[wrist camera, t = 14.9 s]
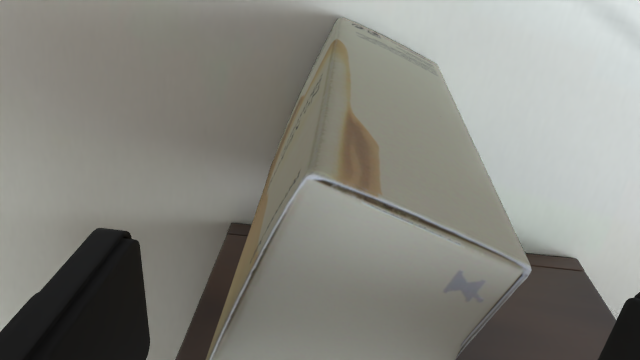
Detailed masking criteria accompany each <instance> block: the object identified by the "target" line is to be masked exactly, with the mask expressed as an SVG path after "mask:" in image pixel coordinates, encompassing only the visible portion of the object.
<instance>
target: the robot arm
mask: <svg viewBox="0 0 640 360" xmlns="http://www.w3.org/2000/svg"><path fill="white" fill-rule="evenodd" d="M149 346H150V337H149V327H148V318H147V308H146V299H145V290H144V280H143V271H142V262H141V252H140V245H139V242H138V241H137V240H134V239H132V238H131V235H130V233H129V232H127V231H122V230H113V229H104V228H97V229H96V230H94V231H93V232H92V233H91V234H90V236H89V237H88V238H87V239H86V240H85V241H84V242H83V243H82V245H81V246H80V247H79V248H78V249H77V250H76V251H75V253H74V254H73V255H72V256H71V257H70V258H69V259H68V260H67V262H66V263H65V264H64V265H63V266H62V267H61V268H60V270H59V271H58V272H57V273H56V274H55V275H54V276H53V277H52V279H51V280H50V281H49V282H48V283H47V284H46V285H45V286H44V288H43V289H42V290H41V291H40V292H38V293H36V294H35V295H34V296H33V297H32V298H30V299H29V301H28V302H27V303H26V304H25V305H24V306H23V307H22V308H21V309H20V311H19V312H18V313H17V314H16V315H15V316H14V317H13V318H12V320H11V321H10V322H9V323H8V324H7V325H6V326H5V327H4V329H3V330H2V331H1V332H0V360H146V358H147V355H148V352H149ZM598 360H640V292H639V293H638V294H637V295H636V296H635V297H634V298H629V299H628V300H627V301H626V302H625V304H624V306H623V308H622V310H621V312H620V314H619V316H618V318H617V321H616V323H615V325H614V327H613V329H612V331H611V333H610V335H609V337H608V339H607V341H606V344H605V346H604V348H603V350H602V352H601V354H600V356H599V358H598Z"/></svg>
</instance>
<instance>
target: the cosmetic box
mask: <svg viewBox="0 0 640 360" xmlns="http://www.w3.org/2000/svg"><path fill="white" fill-rule="evenodd" d="M531 271H532V269H531V266H530V263H529V261H528V259H527V256H526V254H525V252H524V250H523V248H522V246H521V244H520V242H519V239H518V237H517V235H516V233H515V231H514V229H513V227H512V225H511V222H510V220H509V218H508V216H507V214H506V212H505V210H504V207H503V205H502V203H501V201H500V199H499V197H498V195H497V192H496V190H495V188H494V186H493V184H492V182H491V179H490V177H489V175H488V173H487V171H486V169H485V167H484V164H483V162H482V160H481V158H480V156H479V153H478V151H477V149H476V147H475V145H474V143H473V141H472V139H471V137H470V135H469V133H468V130H467V128H466V126H465V124H464V121H463V119H462V117H461V115H460V113H459V110H458V109H457V106H456V104H455V102H454V100H453V98H452V96H451V93H450V91H449V89H448V87H447V85H446V83H445V80H444V78H443V76H442V74H441V72H440V70H439V67H438V66H437V64H436V63H434V62H432V61H430V60H429V59H427V58H425V57H423V56H421V55H419V54H418V53H416V52H414V51H412V50H410V49H408V48H406V47H404V46H402V45H400V44H399V43H397V42H395V41H393V40H391V39H389V38H387V37H385V36H383V35H381V34H379V33H377V32H375V31H373V30H370V29H368V28H366V27H364V26H362V25H359V24H357V23H355V22H353V21H350V20H348V19H346V18H343V17H340V18H338V19H337V21H336V22H335V24H334V26H333V28H332V30H331V32H330V34H329V36H328V38H327V40H326V42H325V44H324V45H323V47H322V49H321V51H320V53H319V55H318V57H317V59H316V61H315V63H314V66H313V68H312V70H311V72H310V74H309V76H308V78H307V80H306V82H305V84H304V87H303V89H302V91H301V93H300V95H299V98H298V100H297V102H296V105H295V107H294V109H293V112H292V114H291V116H290V119H289V121H288V124H287V126H286V128H285V131H284V133H283V136H282V138H281V140H280V143H279V145H278V148H277V151H276V154H275V157H274V160H273V162H272V165H271V168H270V171H269V174H268V177H267V180H266V184H265V187H264V190H263V193H262V196H261V199H260V201H259V204H258V207H257V210H256V213H255V216H254V219H253V222H252V225H251V228H250V231H249V234H248V237H247V240H246V243H245V246H244V249H243V252H242V255H241V257H240V260H239V263H238V266H237V269H236V272H235V275H234V278H233V281H232V284H231V287H230V290H229V293H228V296H227V299H226V302H225V305H224V308H223V311H222V314H221V316H220V319H219V322H218V325H217V328H216V331H215V334H214V337H213V340H212V343H211V346H210V349H209V352H208V355H207V358H206V360H456V358H457V357H458V356H459V354H460V353H461V352H462V351H463V349H464V348H465V347H466V346H467V345H468V344H469V343H470V341H471V340H472V339H473V338H474V337H475V336H476V335H477V333H478V332H479V331H480V330H481V329H482V328H483V327H484V325H485V324H486V323H487V322H488V321H489V320H490V318H491V317H492V316H493V315H494V314H495V313H496V312H497V310H498V309H499V308H500V307H501V306H502V305H503V304H504V303H505V302H506V300H507V299H508V298H509V297H510V296H511V295H512V294H513V292H514V291H515V290H516V289H517V288H518V287H519V286H520V285H521V284H522V283H523V282H524V281H525V280H526V279H527V278H528V276H529V274H530V273H531Z"/></svg>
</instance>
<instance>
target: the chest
mask: <svg viewBox="0 0 640 360" xmlns="http://www.w3.org/2000/svg"><path fill="white" fill-rule="evenodd" d="M250 228H251V225H247V224H237V223H231V225H230V227H229V230H228V232H227V236H226V238H225V240H224V243H223V245H222V248H221V250H220V252H219V255H218V257H217V260H216V262H215V265H214V267H213V269H212V272H211V274H210V277H209V279H208V282H207V284H206V287H205V289H204V291H203V294H202V296H201V299H200V301H199V304H198V306H197V308H196V311H195V313H194V316H193V318H192V321H191V323H190V326H189V328H188V330H187V333H186V335H185V338H184V340H183V343H182V345H181V347H180V350H179V352H178V355H177V357H176V360H206V358H207V355H208V352H209V349H210V346H211V343H212V340H213V337H214V334H215V331H216V328H217V325H218V322H219V319H220V316H221V314H222V311H223V308H224V305H225V302H226V299H227V296H228V293H229V290H230V287H231V284H232V281H233V278H234V275H235V272H236V269H237V266H238V263H239V260H240V257H241V255H242V252H243V249H244V246H245V243H246V240H247V237H248V234H249V231H250ZM526 256H527V259H528V261H529V263H530V266H531V269H532V271H531V273H530V274H529V276H528V278H527V279H526V280H525V281H524V282H523V283H522V284H521V285H520V286H519V287H518V288H517V289H516V290H515V291H514V292H513V294H512V295H511V296H510V297H509V298H508V299H507V300H506V302H505V303H504V304H503V305H502V306H501V307H500V308H499V309H498V310H497V312H496V313H495V314H494V315H493V316H492V317H491V318H490V320H489V321H488V322H487V323H486V324H485V325H484V327H483V328H482V329H481V330H480V331H479V332H478V333H477V335H476V336H475V337H474V338H473V339H472V340H471V341H470V343H469V344H468V345H467V346H466V347H465V348H464V349H463V351H462V352H461V353H460V354H459V356H458V357H457V358H456V360H598V358H599V356H600V354H601V352H602V350H603V348H604V346H605V344H606V341H607V339H608V337H609V335H610V333H611V331H612V329H613V327H614V325H615V323H616V319H615V318H614V316H613V315H612V313H611V311H610V310H609V308H608V307H607V305H606V304H605V302H604V301H603V299H602V298H601V296H600V294H599V293H598V291H597V290H596V288H595V287H594V285H593V284H592V282H591V281H590V279H589V277H588V276H587V274H586V273H585V272H584V269H583V267H582V266H581V264H580V263H579V261H578V260H577V259H573V258H564V257H554V256H545V255H535V254H526Z"/></svg>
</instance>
